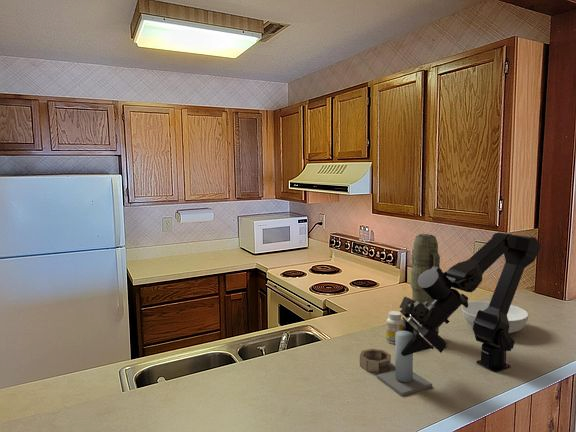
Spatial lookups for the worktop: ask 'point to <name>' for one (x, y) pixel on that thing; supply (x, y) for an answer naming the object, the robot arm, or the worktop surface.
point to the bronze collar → (375, 366)
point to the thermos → (423, 264)
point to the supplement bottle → (393, 326)
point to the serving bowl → (514, 315)
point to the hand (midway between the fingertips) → (398, 350)
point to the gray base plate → (404, 383)
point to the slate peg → (403, 357)
